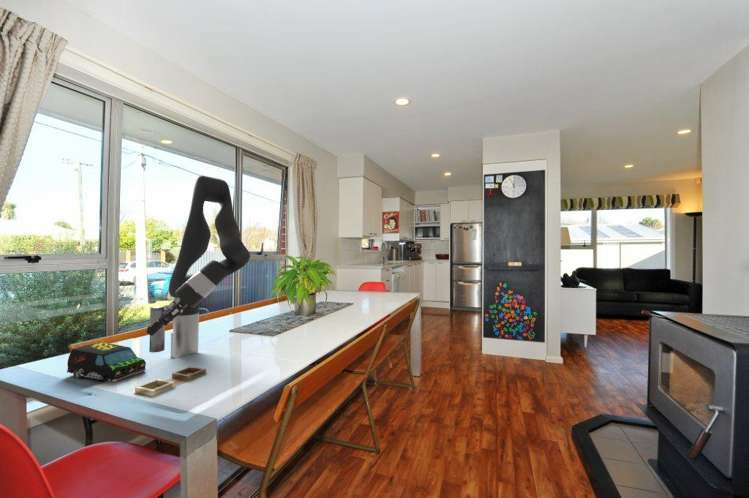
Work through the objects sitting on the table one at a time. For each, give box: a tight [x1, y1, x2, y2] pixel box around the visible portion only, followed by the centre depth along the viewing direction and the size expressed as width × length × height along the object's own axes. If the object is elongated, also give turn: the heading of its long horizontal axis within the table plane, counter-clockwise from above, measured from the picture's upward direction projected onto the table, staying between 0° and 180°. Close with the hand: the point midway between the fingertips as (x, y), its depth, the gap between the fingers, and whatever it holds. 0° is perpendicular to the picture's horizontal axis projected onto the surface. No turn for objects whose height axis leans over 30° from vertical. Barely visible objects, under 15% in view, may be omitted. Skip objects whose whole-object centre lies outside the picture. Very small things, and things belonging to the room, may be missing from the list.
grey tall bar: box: [148, 305, 166, 353], centre depth 99 cm, size 4×4×13 cm
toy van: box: [66, 342, 147, 383], centre depth 112 cm, size 11×25×10 cm, turn 70°
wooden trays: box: [133, 366, 207, 398], centre depth 104 cm, size 7×20×3 cm, turn 161°
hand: (149, 331), depth 98 cm, fingers closed on grey tall bar, 3 cm apart
